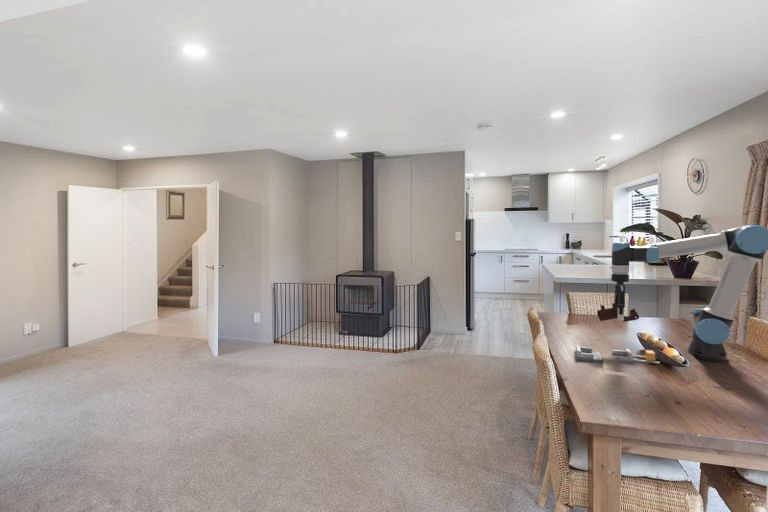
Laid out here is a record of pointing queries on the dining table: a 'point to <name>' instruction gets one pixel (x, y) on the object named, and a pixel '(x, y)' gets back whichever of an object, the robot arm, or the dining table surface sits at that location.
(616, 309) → the dark brown irregular piece
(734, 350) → the dining table surface
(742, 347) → the dining table surface
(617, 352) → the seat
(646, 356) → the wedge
